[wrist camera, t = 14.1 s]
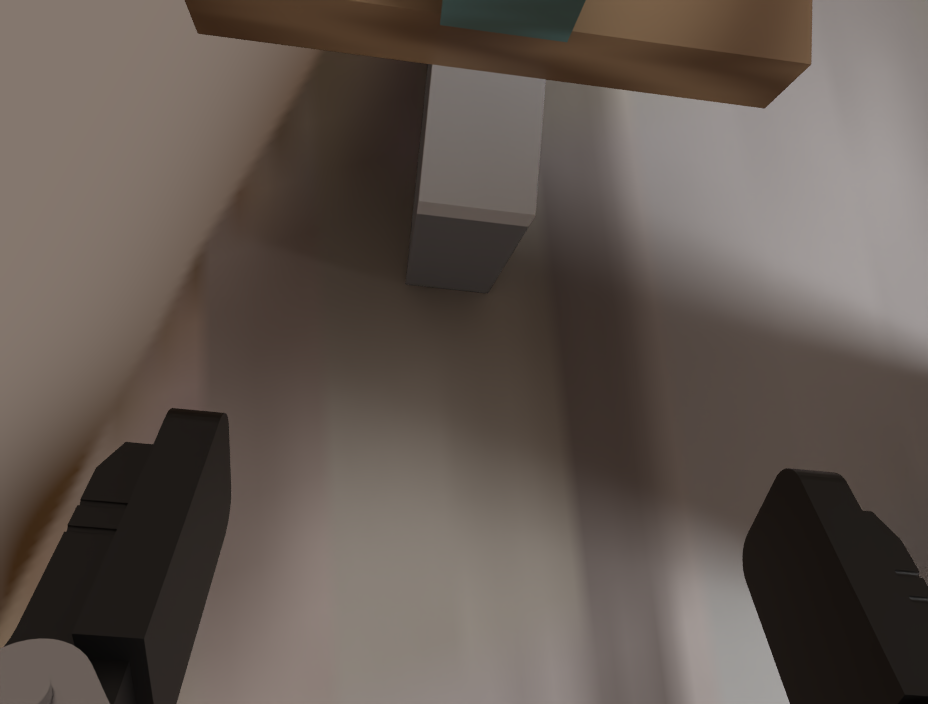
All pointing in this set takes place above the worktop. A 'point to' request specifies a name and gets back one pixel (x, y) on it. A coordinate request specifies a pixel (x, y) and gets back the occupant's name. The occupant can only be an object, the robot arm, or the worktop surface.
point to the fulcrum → (474, 176)
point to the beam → (552, 39)
